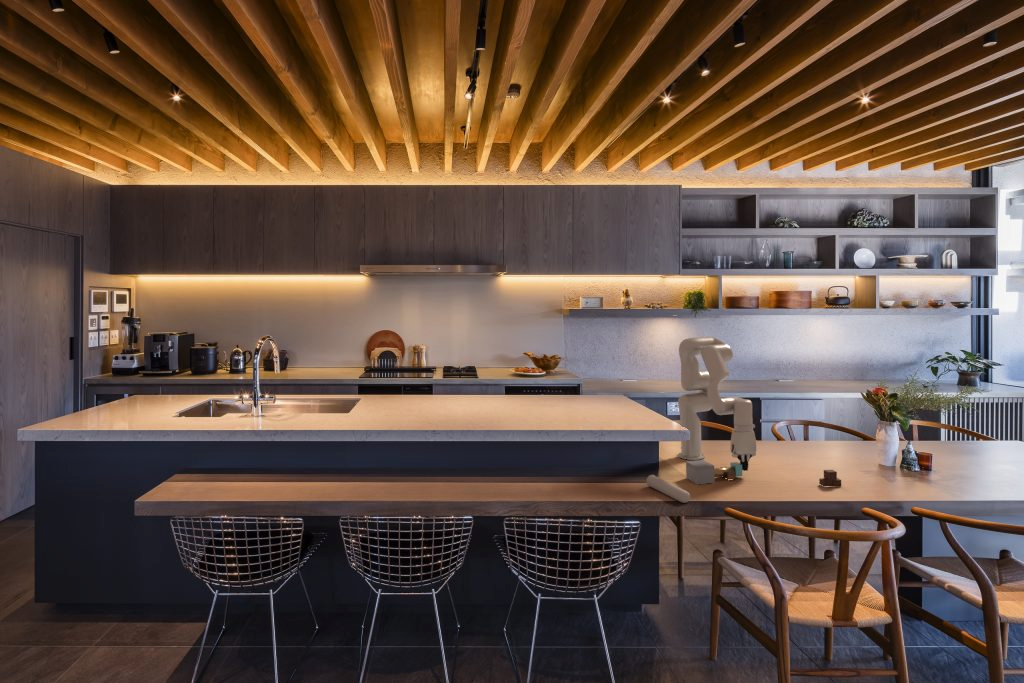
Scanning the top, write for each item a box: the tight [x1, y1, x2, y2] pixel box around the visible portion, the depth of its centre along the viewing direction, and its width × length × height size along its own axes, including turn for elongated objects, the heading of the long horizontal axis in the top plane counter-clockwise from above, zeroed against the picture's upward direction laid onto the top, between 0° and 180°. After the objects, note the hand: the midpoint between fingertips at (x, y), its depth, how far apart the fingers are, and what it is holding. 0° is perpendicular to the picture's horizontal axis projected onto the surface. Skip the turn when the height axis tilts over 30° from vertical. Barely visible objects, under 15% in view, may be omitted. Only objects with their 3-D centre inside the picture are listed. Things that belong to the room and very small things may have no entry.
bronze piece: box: [714, 461, 743, 478], centre depth 262 cm, size 4×18×5 cm, turn 99°
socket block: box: [685, 459, 716, 486], centre depth 261 cm, size 10×8×8 cm
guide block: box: [719, 466, 736, 480], centre depth 263 cm, size 7×3×4 cm, turn 9°
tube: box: [646, 474, 691, 504], centre depth 244 cm, size 5×5×25 cm
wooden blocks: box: [818, 469, 842, 487], centre depth 245 cm, size 15×15×7 cm
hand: (744, 469), depth 264 cm, fingers closed
